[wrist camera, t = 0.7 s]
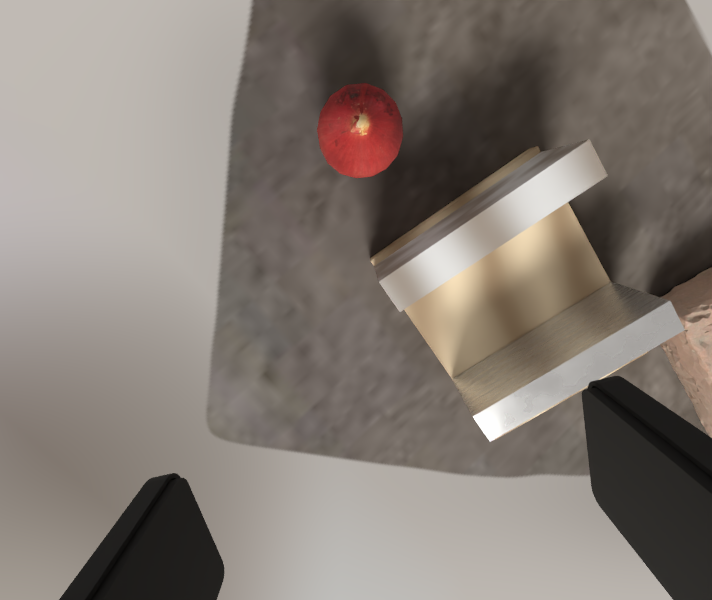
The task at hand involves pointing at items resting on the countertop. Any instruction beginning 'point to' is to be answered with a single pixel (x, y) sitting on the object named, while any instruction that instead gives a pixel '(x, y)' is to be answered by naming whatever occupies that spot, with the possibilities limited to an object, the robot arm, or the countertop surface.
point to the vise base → (498, 258)
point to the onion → (360, 130)
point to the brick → (694, 342)
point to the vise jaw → (565, 356)
